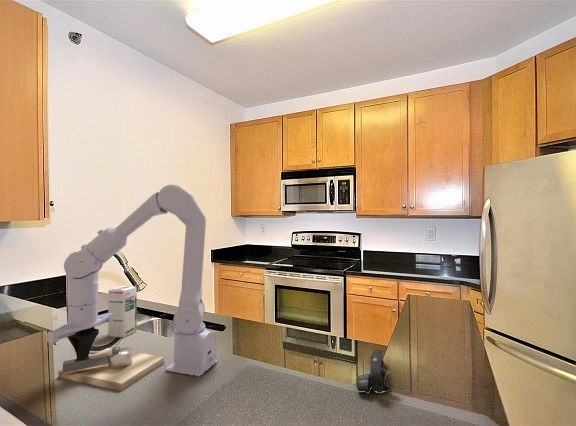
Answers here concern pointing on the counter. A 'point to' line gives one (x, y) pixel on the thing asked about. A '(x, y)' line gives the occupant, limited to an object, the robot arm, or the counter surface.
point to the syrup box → (122, 311)
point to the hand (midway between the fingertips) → (82, 362)
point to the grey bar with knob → (102, 360)
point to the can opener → (374, 375)
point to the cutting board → (115, 372)
